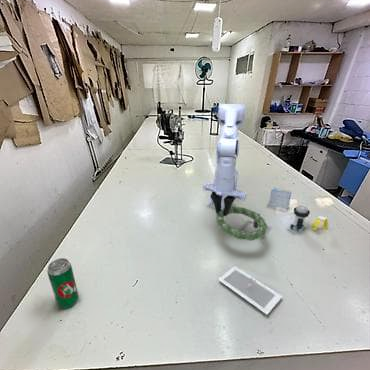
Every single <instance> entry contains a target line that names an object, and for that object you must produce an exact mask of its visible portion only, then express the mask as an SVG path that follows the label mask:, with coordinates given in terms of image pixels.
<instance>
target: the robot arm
mask: <svg viewBox="0 0 370 370" xmlns="http://www.w3.org/2000/svg"><path fill="white" fill-rule="evenodd" d="M245 115H246V105H245V104H244V103H241V104H240V103H239V104H238V103H223V102H221V103H220V104H219V105H218V111H217V118H218V120H217V121H218V124H219V126H221V128H220V133H219V139H218V140H217V141H216V146H215V147H216V148H215V149H216V150H215V155H216V170H215V172H214V176H213V177H214V178H213V184H212V183H207V182H206V183H204V184H203V185H202V191H204V192H205V191H208V192H210V197H209V205H214V210H215V214H217V213H218V212H219V211H220V210H221V209H223V208H224V217H227V216H228V215H229V214H228V213H229V210H230V207H232V206H233V204H234V201H235V200H236V199H237V200H238V199H239V200H240V201H242V202H245V200H246V199H247V192H244V191H241V190H239V189H237V188H238V179H239V176H238V175H239V172H238V170H237V169H236V164H237V157H238V156H239V152H240V151H239V149H240V138H239V127H242V126H243V124H244V120H245Z"/></svg>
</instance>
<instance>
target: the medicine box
mask: <svg viewBox="0 0 370 370" xmlns="http://www.w3.org/2000/svg"><path fill="white" fill-rule="evenodd" d="M291 196H292V190H290V189H287V188H282V187H276V186H272V188H271V190H270V195H269V201H268V206H271V207H275V208H279V209H282V210H288V209H289V206H290V202H291V198H292V197H291Z"/></svg>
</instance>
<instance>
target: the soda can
mask: <svg viewBox="0 0 370 370" xmlns="http://www.w3.org/2000/svg"><path fill="white" fill-rule="evenodd" d="M46 272H47V276H48V280H49V283H50V286H51V289H52V293H53V297H54V300H55V302H56V306H57V307H58V308H60V309H68V308H71V307H73V306H74V305H75V304H76V303H77V302H78V300H79V298H80V295H79V291H78V288H77V283H76V279H75V275H74V271H73V266H72V263H71V262H70V261H69V260H68V259H67V258H63V257H62V258H57V259H55V260H53V261H51V262H50V263H49V264H48V266H47V271H46Z"/></svg>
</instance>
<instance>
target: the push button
mask: <svg viewBox="0 0 370 370" xmlns="http://www.w3.org/2000/svg"><path fill="white" fill-rule="evenodd" d="M293 214H294V216H295V217H294V221H293V223H291V224H290V226H289V229H290V230H292V231H293V232H295V231H298V232H301V231H302V230H305V228H307V225H304V224H305V219H306V218H308V217H309V215H310V214H311V211H310V210H309V209H308V208H307V206H305V205H298V206H296V207H294V208H293Z"/></svg>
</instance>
